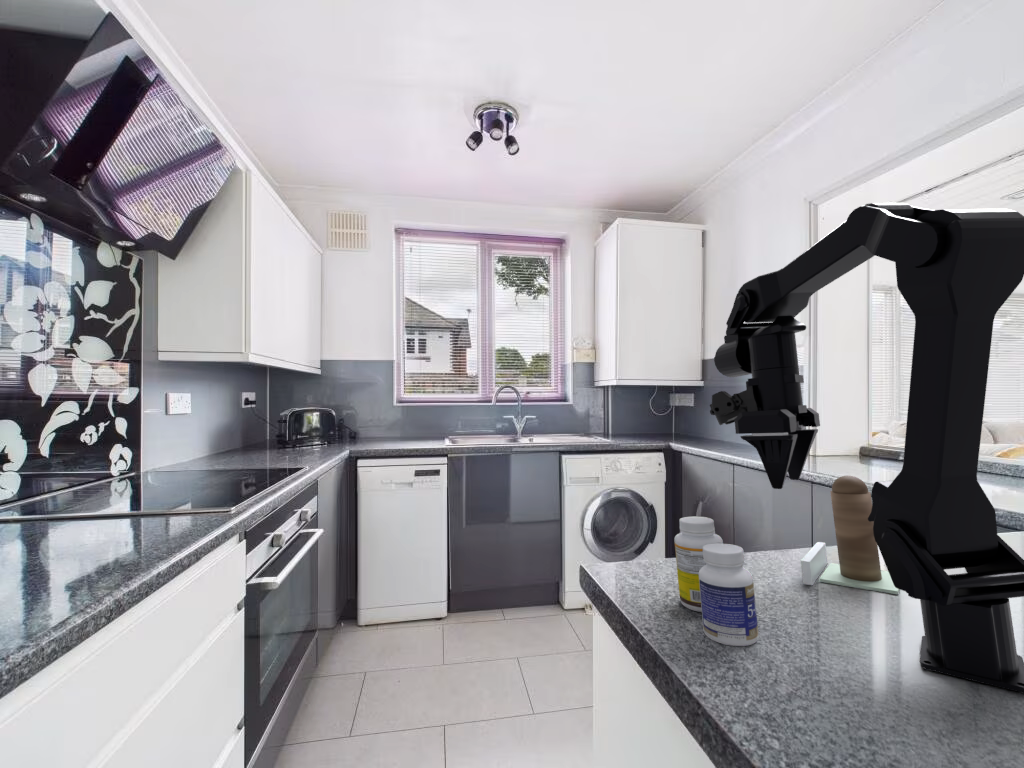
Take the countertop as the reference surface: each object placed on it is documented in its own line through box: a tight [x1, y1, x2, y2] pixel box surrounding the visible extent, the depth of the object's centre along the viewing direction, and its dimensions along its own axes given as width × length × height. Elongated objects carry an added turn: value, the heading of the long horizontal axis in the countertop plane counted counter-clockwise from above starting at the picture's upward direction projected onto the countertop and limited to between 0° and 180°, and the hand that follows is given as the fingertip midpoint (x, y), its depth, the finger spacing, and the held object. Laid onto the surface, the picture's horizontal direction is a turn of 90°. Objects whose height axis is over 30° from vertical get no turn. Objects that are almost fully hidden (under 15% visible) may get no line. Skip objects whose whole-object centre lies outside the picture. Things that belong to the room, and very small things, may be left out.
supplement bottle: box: [674, 516, 724, 613], centre depth 56 cm, size 6×6×10 cm
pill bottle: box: [699, 543, 760, 647], centre depth 48 cm, size 5×5×9 cm
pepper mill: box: [830, 475, 882, 581], centre depth 61 cm, size 4×4×13 cm
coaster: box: [819, 562, 900, 595], centre depth 61 cm, size 8×8×1 cm
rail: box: [800, 541, 829, 586], centre depth 64 cm, size 11×1×3 cm, turn 137°
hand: (786, 483), depth 62 cm, fingers open, 9 cm apart
